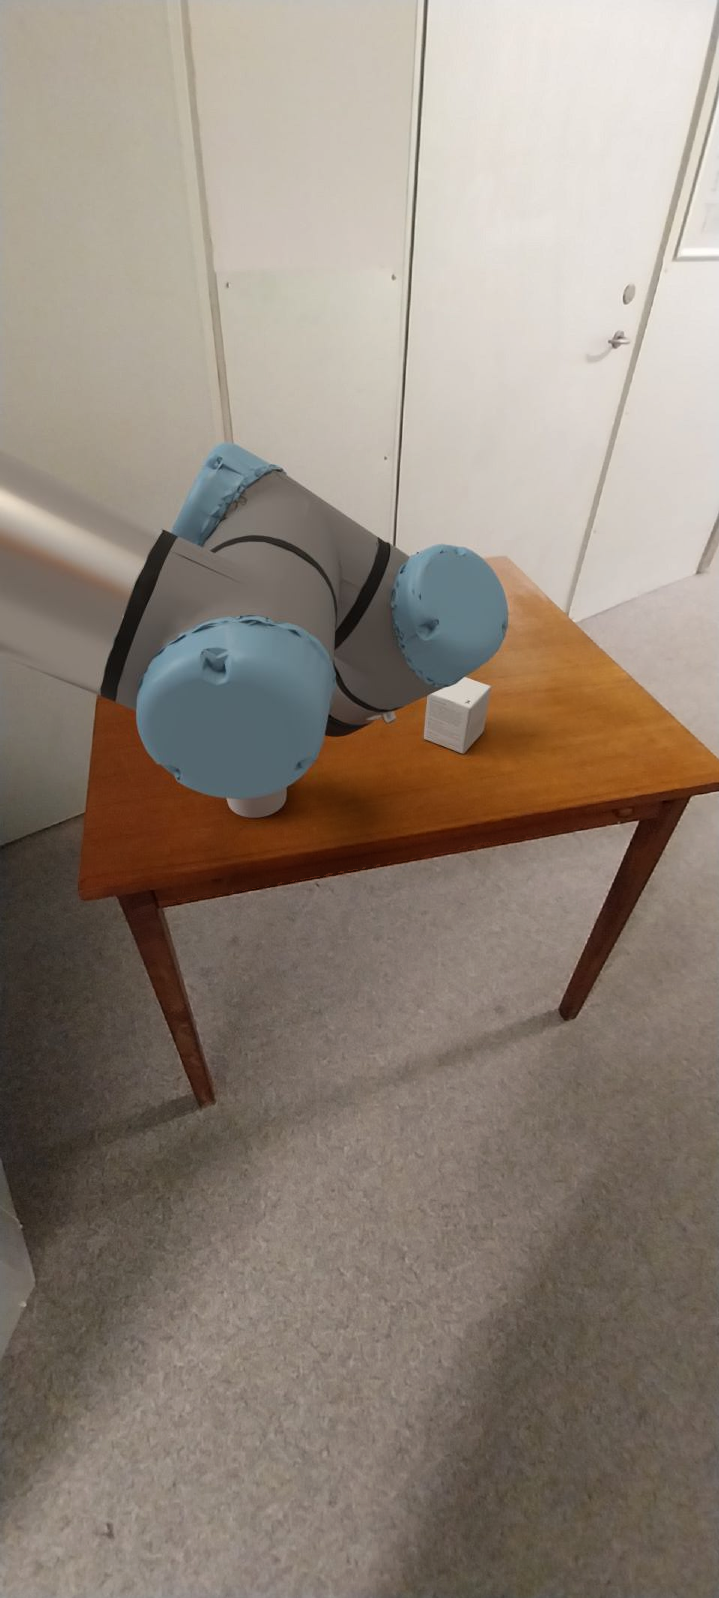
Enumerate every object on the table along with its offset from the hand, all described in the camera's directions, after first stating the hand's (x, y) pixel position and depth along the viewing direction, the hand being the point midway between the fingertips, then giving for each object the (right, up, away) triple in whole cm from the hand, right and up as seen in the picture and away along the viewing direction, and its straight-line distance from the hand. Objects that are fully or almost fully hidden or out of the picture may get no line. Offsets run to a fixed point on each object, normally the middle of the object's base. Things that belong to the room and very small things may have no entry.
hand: (261, 738), depth 70 cm
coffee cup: (-2, -6, +8) cm, 11 cm away
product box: (+23, +2, +18) cm, 29 cm away
